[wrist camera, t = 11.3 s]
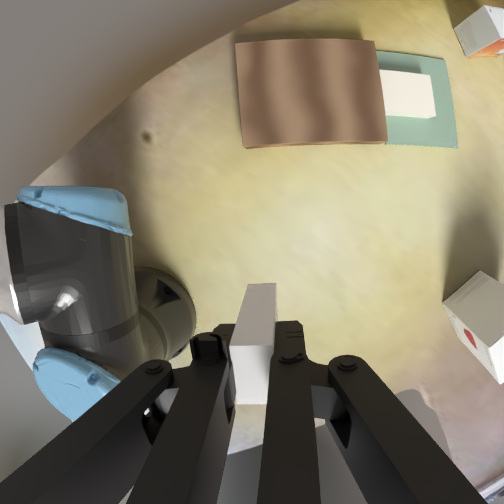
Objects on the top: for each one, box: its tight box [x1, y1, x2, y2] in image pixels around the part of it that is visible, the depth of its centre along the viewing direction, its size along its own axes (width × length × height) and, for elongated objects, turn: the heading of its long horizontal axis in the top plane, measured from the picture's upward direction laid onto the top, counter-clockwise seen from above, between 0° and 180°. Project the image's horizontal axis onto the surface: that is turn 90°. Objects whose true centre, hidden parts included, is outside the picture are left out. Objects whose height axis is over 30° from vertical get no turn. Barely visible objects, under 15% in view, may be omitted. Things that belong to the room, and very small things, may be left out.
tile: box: [379, 70, 436, 119], centre depth 35 cm, size 8×6×2 cm
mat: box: [376, 51, 458, 148], centre depth 36 cm, size 12×14×1 cm
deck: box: [235, 38, 388, 149], centre depth 36 cm, size 18×14×4 cm
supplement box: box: [442, 270, 504, 384], centre depth 35 cm, size 9×9×15 cm
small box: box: [454, 5, 504, 58], centre depth 27 cm, size 8×6×10 cm
